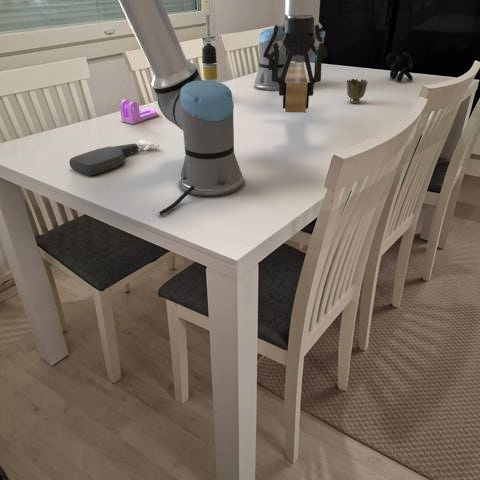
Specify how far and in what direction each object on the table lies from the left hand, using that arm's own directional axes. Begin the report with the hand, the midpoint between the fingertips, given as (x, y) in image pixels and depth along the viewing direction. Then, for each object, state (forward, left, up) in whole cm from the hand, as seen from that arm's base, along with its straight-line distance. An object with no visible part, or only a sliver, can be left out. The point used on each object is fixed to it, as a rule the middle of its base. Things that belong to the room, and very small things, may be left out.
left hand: (295, 107), depth 127 cm
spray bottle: (-26, +44, -11) cm, 52 cm away
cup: (+51, -11, -11) cm, 54 cm away
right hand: (+22, +6, +2) cm, 23 cm away
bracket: (+10, +58, -11) cm, 60 cm away
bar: (+11, +3, -1) cm, 12 cm away
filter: (+42, +44, -11) cm, 62 cm away
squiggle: (+95, -26, -11) cm, 99 cm away
